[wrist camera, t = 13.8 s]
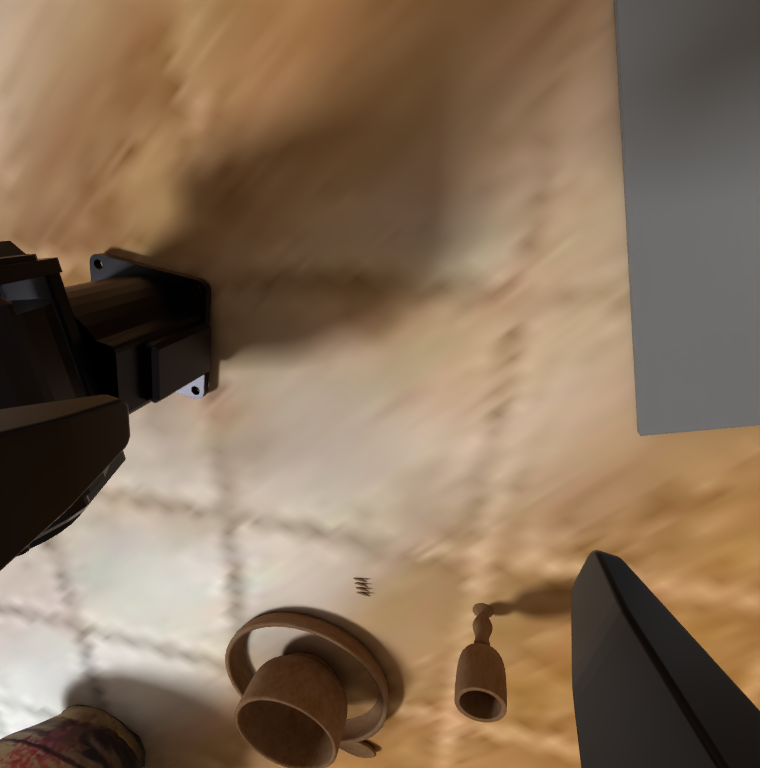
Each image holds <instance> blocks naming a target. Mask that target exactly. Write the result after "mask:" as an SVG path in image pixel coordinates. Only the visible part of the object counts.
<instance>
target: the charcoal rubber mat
mask: <svg viewBox="0 0 760 768" xmlns="http://www.w3.org/2000/svg"><path fill="white" fill-rule="evenodd" d="M614 12H615V30H616V48H617V66H618V84H619V102H620V120H621V138H622V156H623V174H624V192H625V210H626V228H627V246H628V264H629V282H630V300H631V318H632V336H633V354H634V372H635V390H636V408H637V426H638V433H639V434H640V436H645V435H656V434H667V433H678V432H689V431H700V430H712V429H723V428H734V427H745V426H756V425H760V0H614Z"/></svg>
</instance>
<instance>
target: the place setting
mask: <svg viewBox="0 0 760 768" xmlns="http://www.w3.org/2000/svg"><path fill="white" fill-rule="evenodd" d="M353 579H355V580H359V581H363V582H367V581H365V580H363V579H360V578H353ZM355 584H358V585H361V586H365V587H368V586H367V585H365V584H362V583H359V582H355ZM356 588H357V589H360V590H363V591H368V590H366V589H364V588H361V587H356ZM368 592H370V591H368ZM357 593H359V594H362V595H366V596H370V595H368V594H366V593H363V592H357ZM473 612H474V614H475V615H476V616H477V617H476V618H475V620H474V622H473V630H474V633H475V641H474V644H470V645H469V646H467V647H466V648H465V649H464V650H463V651H462V653H461V655H460V658H459V661H458V666H457V674H456V682H455V705H456V707H457V708H458V710H459V711H460V712H461V713H462V714H464V715H465V716H467V717H469V718H471V719H473V720H476V721H480V722H495V721H498V720H500V719H502V718H503V717H504V716H505V714H506V711H507V688H506V674H505V668H504V664H503V661H502V658H501V656H500V655H499V653H498V652H497V651H496V650H495V649H494V648H492V647H491V646H490V643H489V637H490V635H491V633H492V624H491V621H490V620H489V617H491V616H492V615H493V609H492V608H491V607H490V606H489V605H487V604H484V603H478V604H476V605H474V607H473ZM274 626H275V627H288V628H295V629H299V630H303V631H307V632H310V633H313V634H315V635H318V636H320V637H322V638H325V639H327V640H329V641H331V642H333V643H334V644H336V645H338V646H339V647H341V648H342V649H344V650H345V651H347V652H348V653H349V654H351V655H352V656H353V657H354V658H356V659H357V660H358V661H359V662H360V663H361V664H362V665H363V666H364V667H365V668H366V670H367V671H368V672H369V673H370V674H371V676H372V677H373V679H374V680H375V682H376V684H377V686H378V688H379V696H378V699H377V702H376V704H375V705H374V706H373V707H372V709H371V710H369V711H368V712H367V713H365V714H363V715H362V716H359V717H356V718H353V719H348V720H346V718H347V699H346V695H345V692H344V690H343V687H342V686H341V684H340V682H339V681H338V679H337V678H336V677H335V673H334V671H333V670H332V668H331V667H330V666H329V665H328V664H327V663H326V662H325V661H324V660H322V659H321V658H319V657H317V656H315V655H312V654H309V653H305V652H295V653H291V654H289V655H284V656H279V657H276V658H273V659H271V660H269V661H267V662H266V663H265V664H263V665H262V666H261V667H260V668H259V669H258V671H257V672H256V673H255V675H254V676H253V675H252V673H251V671H250V669H249V667H248V665H247V662H246V659H245V653H244V645H245V641H246V638H247V636H248V634H249V633H250V631H252V630H255V629H258V628H263V627H274ZM225 663H226V669H227V673H228V676H229V678H230V680H231V682H232V685H233V686H234V688H235V689H236V691H237V692H238V694H239V695H240V696H241V698H242V699H241V701H240V702H239V704H238V706H237V708H236V711H235V723H236V726H237V728H238V731H239V733H240V734H241V736H242V737H243V739H244V740H245V741H246V742H247V743H248V744H249V745H250V746H251V747H252V748H253V749H254V750H255V751H257V752H258V753H259V754H261V755H262V756H264V757H265V758H267V759H269V760H270V761H272V762H274V763H276V764H279V765H281V766H284V767H287V768H326V767H328V766H330V765H331V764H332V763H333V762H334V761H335V759H336V756H337V753H338V749H339V748H340V749H342V750H344V751H346V752H348V753H350V754H352V755H354V756H357V757H362V758H372V757H375V756H376V752H375V750H374V748H373V747H372V746H371V745H370V744H368V743H367V742H365V741H363V740H366V739H368V738H370V737H372V736H373V735H374V734H376V733H377V732H378V731H379V730H380V729H381V728H382V726H383V724H384V722H385V721H386V717H387V713H388V707H389V693H388V686H387V682H386V679H385V676H384V674H383V672H382V670H381V668H380V666H379V664H378V663H377V661H376V660H375V658H374V657H373V655H372V654H371V653H370V652H369V651H368V650H367V649H366V648H365V647H364V646H363V645H362V644H361V643H360V642H359V641H358V640H357V639H355V638H354V637H353V636H351V635H350V634H348V633H347V632H345V631H344V630H342V629H341V628H339V627H337V626H335V625H333V624H331V623H329V622H326V621H324V620H322V619H319V618H316V617H313V616H309V615H305V614H299V613H292V612H278V613H270V614H266V615H262V616H260V617H257V618H254V619H253V620H251V621H249V622H248V623H246V624H245V625H244V626H243V627H241V628H240V629H239V630H238V631H237V633H236V634H235V635H234V637H233V638H232V640H231V641H230V643H229V645H228V647H227V650H226V655H225Z"/></svg>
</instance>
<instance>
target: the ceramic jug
mask: <svg viewBox="0 0 760 768" xmlns="http://www.w3.org/2000/svg"><path fill="white" fill-rule="evenodd" d="M144 756H145V750H144V748H143V745H142V743H141V741H140V739H139V737H137V736H135V735H133V734H131V733H130V732H129V731H128V730H127V729H126V727H125V726H124V725H123V724H122V723H120V722H119V721H118V720H117V719H116V718H114V717H113V716H111V715H109V714H108V713H106V712H104V711H102V710H100V709H97V708H94V707H86V706H79V705H76V706H72V707H69V708H67V709H66V710H64V711H63V712H62V713H61V714H59V715H58V716H55V717H53V718H51V719H48V720H46V721H44V722H42V723H39V724H37V725H34V726H32V727H29V728H26V729H23V730H21V731H18V732H15V733H13V734H10V735H8V736H6V737H4V738H2V739H0V768H142V767H143V766H145V765H144V763H145V759H144Z"/></svg>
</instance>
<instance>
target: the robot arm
mask: <svg viewBox="0 0 760 768" xmlns="http://www.w3.org/2000/svg"><path fill="white" fill-rule="evenodd" d="M100 261H101V262H102V265H103V267H102V266H101V263H100ZM90 271H91V282H88V283H83V284H78V285H73V286H68V287H64V284H63V281H62V279H61V276H60V272H62V269H61V266H60V263H59V260H58V258H45V259H37V256H36V254H25V253H24V252H23V251H21V250H20V249H19V248H18V247H17V246H16V245H14V244H13V243H12V242H11V241H2V242H0V571H1V570H2V569H3V568H4V567H5V566H6V565H7V564H8V563H9V562H11V561H12V560H13V559H14V558H15V557H16V556H19V555H22V554H24V553H26V552H27V551H29V549H31V548H33V547H35V546H37V545H39V544H41V543H43V542H45V541H47V540H49V539H50V538H52V537H54V536H55V535H57V534H59V533H60V532H62V531H63V530H64V529H66V528H67V527H68V526H69V525H71V524H72V523H73V522H74V521H75V520H76V519H77V518H78V517H79V516H80V515H81V513H82V512H83V511H84V510H85V509H86V507H87V506H88V505H89V503H90V502H91V501H92V500H93V499H94V497H95V496H96V495H97V494H98V492H99V491H100V490H101V489H102V488H103V486H104V485H105V484H106V483H107V481H108V480H109V479H110V478H111V477H112V475H113V474H114V473H115V472H116V470H117V469H118V468H119V467H120V465H121V464H122V463H123V462H124V461H125V459H126V458H125V455H124V452H123V449H124V448H125V447H126V445H127V444H128V441H129V438H130V426H129V414H131V413H133V412H134V411H136V410H138V409H139V408H141V407H143V406H145V405H146V404H148V403H150V402H154V403H157V402H159V401H161V400H162V399H164V398H166V397H167V396H169V395H171V394H172V393H174V392H175V393H178V394H181V395H185V396H188V397H191V398H195V399H200V398H202V397H204V396H205V395H206V394H207V393H208V378H209V371H210V365H211V330H212V328H211V325H210V302H211V289H210V286H209V284H208V283H207V282H206V281H205V280H203V279H201V278H197V277H193V276H189V275H185V274H182V273H178V272H174V271H170V270H166V269H162V268H158V267H154V266H150V265H147V264H143V263H139V262H135V261H131V260H127V259H123V258H119V257H115V256H112V255H108V254H102V253H100V254H94V255H92V256H91V258H90ZM197 285H198V286H199V287H200V288H201V291H202V292H201V293H199V292H198V290H197ZM196 387H198V389H199V391H200V392H199V391H198V390H197V389H196ZM571 627H572V688H573V699H574V709H575V717H576V726H577V734H578V742H579V751H580V759H581V767H582V768H760V711H759V709H758V708H757V707H756V706H755V705H754V704H753V703H752V702H751V701H750V700H749V698H748V697H747V696H746V695H745V694H744V693H743V692H742V691H741V690H740V689H739V687H738V686H737V685H736V684H735V683H734V682H733V681H732V680H731V679H730V678H729V676H728V675H727V674H726V673H725V672H724V671H723V670H722V669H721V668H720V667H719V665H718V664H717V663H716V662H715V661H714V660H713V659H712V658H711V657H710V656H709V654H708V653H707V652H706V651H705V650H704V649H703V648H702V647H701V646H700V645H699V643H698V642H697V641H696V640H695V639H694V638H693V637H692V636H691V635H690V634H689V632H688V631H687V630H686V629H685V628H684V627H683V626H682V625H681V624H680V623H679V621H678V620H677V619H676V618H675V617H674V616H673V615H672V614H671V613H670V612H669V611H668V609H667V608H666V607H665V606H664V605H663V604H662V603H661V602H660V601H659V600H658V598H657V597H656V596H655V595H654V594H653V593H652V592H651V591H650V590H649V589H648V587H647V586H646V585H645V584H644V583H643V582H642V581H641V580H640V579H639V578H638V576H637V575H636V574H635V573H634V572H633V571H632V570H631V569H630V568H629V567H628V565H627V564H626V563H625V562H624V561H623V560H622V559H621V558H619V557H618V556H615V555H612V554H609V553H605V552H602V551H599V550H595V551H592V552H591V553H590V554H589V556H588V558H587V559H586V561H585V563H584V565H583V567H582V569H581V571H580V573H579V575H578V576H577V578H576V580H575V582H574V585H573V588H572V594H571Z"/></svg>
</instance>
